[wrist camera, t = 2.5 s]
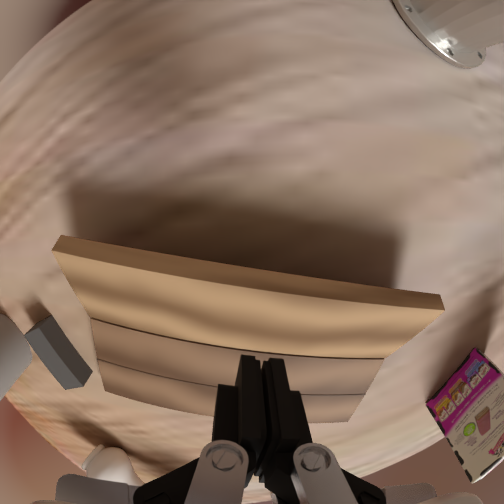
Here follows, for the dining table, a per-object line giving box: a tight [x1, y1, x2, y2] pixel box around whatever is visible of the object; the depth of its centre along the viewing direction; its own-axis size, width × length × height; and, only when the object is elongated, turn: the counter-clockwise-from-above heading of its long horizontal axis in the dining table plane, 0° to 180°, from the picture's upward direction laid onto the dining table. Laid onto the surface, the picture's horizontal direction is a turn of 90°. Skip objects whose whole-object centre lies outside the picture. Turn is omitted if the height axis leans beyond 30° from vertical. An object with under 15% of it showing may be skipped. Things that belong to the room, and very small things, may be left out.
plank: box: [52, 235, 445, 358], centre depth 19 cm, size 9×28×2 cm, turn 80°
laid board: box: [91, 318, 384, 423], centre depth 24 cm, size 10×28×2 cm, turn 80°
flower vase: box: [82, 444, 145, 486], centre depth 26 cm, size 13×18×25 cm
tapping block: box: [24, 315, 93, 390], centre depth 23 cm, size 8×4×3 cm, turn 24°
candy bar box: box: [426, 347, 504, 483], centre depth 19 cm, size 11×5×16 cm, turn 150°
